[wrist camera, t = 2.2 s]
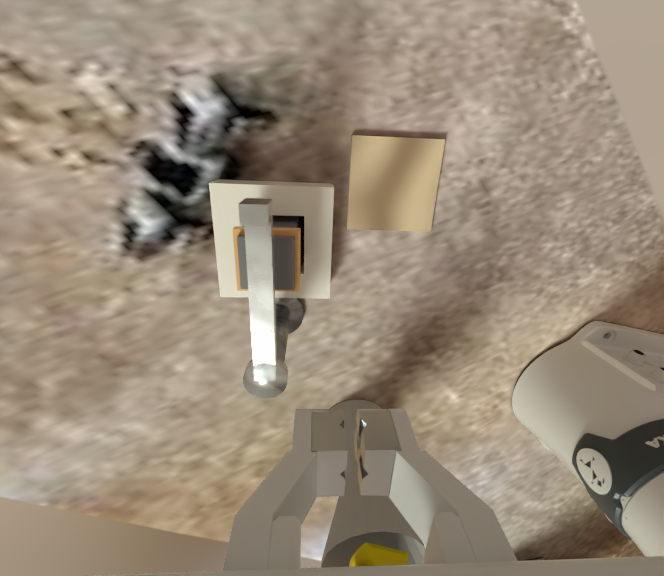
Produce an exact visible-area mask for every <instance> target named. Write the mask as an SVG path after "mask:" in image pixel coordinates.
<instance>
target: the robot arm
mask: <svg viewBox="0 0 664 576" xmlns="http://www.w3.org/2000/svg"><path fill="white" fill-rule="evenodd" d="M512 407H513V411H514V414H515V416H516V417H517V419H518V420H519V421H520V422H521V423H522V424H523V425H524V426H525V427H527V428H528V429H529V430H530V431H531V432H533V433H534V434H535V435H536V436H537V438H538V440H539V442H540V443H541V444H542V445H543V446H544V447H545V448H546V449H547V450H549V451H552V452H553V453H554V454H555V455H556V456H557V457H558V458H559V459H560V460H561V461H562V462H563V463H564V464H565V466H566V467H567V468H568V469H569V470H570V471H571V472H572V473H573V474H574V475H575V476H576V477H577V478H578V479H579V480H580V481H581V482H582V483H583V484H584V485H585V487H586V489H587V491H588V492H589V494H590V496H591V497H592V498H593V500H594V501H595V502H596V503H597V505H598V506H599V507H600V508H601V510H602V511H603V512H604V513H605V514H604V515H605V516H606V517H607V518H608V520H609V521H610V522H611V523H613V524H614V525H615V527H616V528H617V529H618V530H619V531H620V532H621V533H622V534H623V535H624V536H626V537H627V538H630V539H632V540H633V541H634V542H635V544H636V545H637V546H638V547H639V549H640V550H641V551H642V552H643V554H644V555H645V556H646V557H620V558H591V559H561V560H531V561H517V559H516V556H515V554H514V552H513V550H512V548H511V546H510V544H509V542H508V540H507V538H506V536H505V534H504V532H503V530H502V528H501V526H500V524H499V522H498V520H497V518H496V516H495V514H494V512H493V510H492V509H491V508H490V507H489V506H487V505H486V504H485V503H484V502H483V501H482V500H481V499H479V498H478V497H477V496H476V495H475V494H474V493H473V492H471V491H470V490H469V489H468V488H467V487H466V486H465V485H463V484H462V483H461V482H460V481H459V480H458V479H457V478H455V477H454V476H453V475H452V474H451V473H450V472H449V471H447V470H446V469H445V468H444V467H443V466H442V465H441V464H439V463H438V462H437V461H436V460H435V459H434V458H433V457H431V456H430V455H429V454H428V453H427V452H426V451H420V449H419V447H418V444H417V441H416V438H415V435H414V432H413V430H412V427H411V424H410V421H409V418H408V415H407V413H406V410H405V409H357V414H356V422H357V428H356V429H355V437H354V447H355V458H356V462H357V463H358V464H359V466H358V480H359V487H360V494H361V495H370V496H389V498H390V499H391V501H392V502H393V503H394V505H395V506H396V507H397V509H398V510H399V511H400V513H401V514H402V515H403V517H404V518H405V519H406V520H407V522H408V523H409V524H410V526H411V527H412V528H413V530H414V531H415V532H416V534H417V535H418V536H419V538H420V539H421V540H422V542H423V543H424V544H425V546H426V549H425V553H424V557H423V561H422V564H415V565H386V566H356V567H326V568H300V547H301V525H302V523H303V521H304V519H305V517H306V516H307V514H308V512H309V510H310V508H311V507H312V505H313V503H314V501H315V499H316V497H329V496H344V491H345V469H346V468H347V454H348V448H347V438H346V431H345V430H344V412H343V410H341V409H296V411H295V420H294V434H293V448H292V452H287V453H286V454H285V456H284V457H283V458H282V459H281V461H280V462H279V463H278V464H277V465H276V467H275V468H274V469H273V470H272V471H271V473H270V474H269V475H268V476H267V477H266V479H265V480H264V481H263V482H262V483H261V485H260V486H259V487H258V488H257V490H256V491H255V492H254V493H253V494H252V496H251V497H250V498H249V499H248V500H247V502H246V503H245V504H244V505H243V506H242V508H241V509H240V510H239V511H238V512H237V514H236V515H235V518H234V522H233V527H232V531H231V536H230V541H229V545H228V550H227V554H226V559H225V563H224V568H223V571H207V572H180V573H179V572H178V573H148V574H117V575H90V576H664V334H660V333H655V332H650V331H646V330H641V329H636V328H631V327H626V326H622V325H617V324H612V323H607V322H602V321H593V322H591V323H589V324H587V325H586V326H584V327H583V328H582V329H581V330H580V331H579V332H577V333H576V334H575V335H574V336H573V337H572V338H571V339H569V340H568V341H566V342H564V343H562V344H560V345H558V346H556V347H554V348H552V349H550V350H549V351H547V352H545V353H544V354H542V355H541V356H540V357H538V358H537V359H536V360H535V361H534V362H532V363H531V364H530V365H529V366H528V368H527V369H526V370H525V371H524V372H523V374H522V375H521V377H520V378H519V380H518V382H517V384H516V386H515V389H514V392H513V397H512ZM87 576H89V575H87Z"/></svg>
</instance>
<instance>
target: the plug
mask: <svg viewBox="0 0 664 576" xmlns="http://www.w3.org/2000/svg"><path fill="white" fill-rule="evenodd" d="M273 239H274V273H275V291H296V292H300V239H301V228H299V216H284V215H273ZM233 242H234V255H235V268H236V280H237V291H248V277H247V262H246V246H245V230H244V227H241V226H235V227H234V228H233Z"/></svg>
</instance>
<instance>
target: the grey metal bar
mask: <svg viewBox="0 0 664 576" xmlns="http://www.w3.org/2000/svg"><path fill="white" fill-rule="evenodd" d="M238 207H239V221H240V226H244V230H245V246H246V262H247V277H248V293H249V308H250V324H251V339H252V355H253V359H252V360H251V361H250V362H249V363H248V365H247V367H246V370H245V373H244V377H243V383H244V386H245V388H246V389H247V391H248V392H249V393H251V394H252V395H254V396H256V397H260V398H272V397H275V396H278V395H279V394H281V393H282V392H283V391H284V389H285V388H286V385H287V378H288V369H287V367H286V365H285V363H284V362H283V361H282V360H280V359H279V358H277V340H276V306H275V273H274V239H273V206H272V199H263V198H245V199H244V200H243V201H241V202H240V203H239V204H238Z"/></svg>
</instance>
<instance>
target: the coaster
mask: <svg viewBox="0 0 664 576" xmlns="http://www.w3.org/2000/svg"><path fill="white" fill-rule="evenodd" d="M444 145H445V139H425V138H403V137H381V136H360V135H352V139H351V156H350V173H349V191H348V208H347V225H346V228H347V229H355V230H391V231H427V232H431V227H432V220H433V214H434V208H435V201H436V195H437V189H438V183H439V176H440V170H441V164H442V157H443V151H444Z"/></svg>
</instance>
